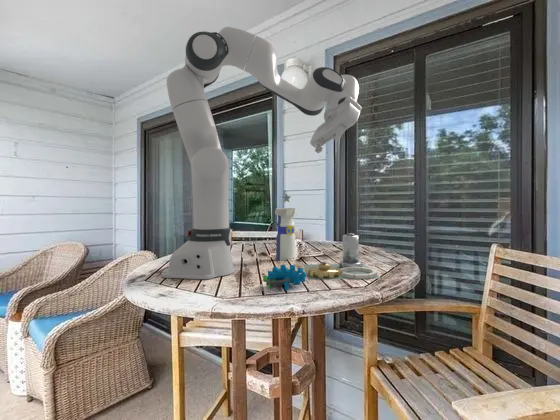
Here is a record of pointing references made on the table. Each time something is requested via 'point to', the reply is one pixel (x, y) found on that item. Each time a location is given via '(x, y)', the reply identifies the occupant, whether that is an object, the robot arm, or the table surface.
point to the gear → (284, 276)
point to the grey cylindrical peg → (350, 251)
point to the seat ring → (358, 276)
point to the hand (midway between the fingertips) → (326, 145)
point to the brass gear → (324, 271)
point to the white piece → (285, 233)
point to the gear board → (341, 273)
